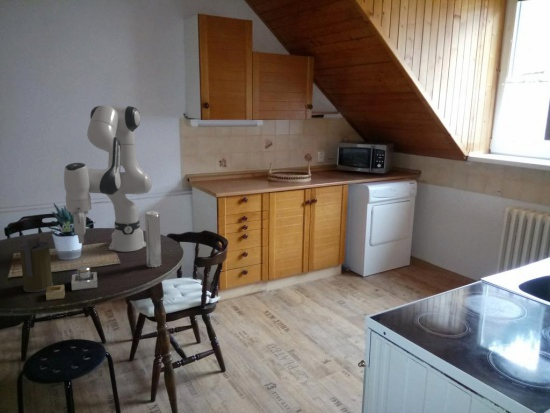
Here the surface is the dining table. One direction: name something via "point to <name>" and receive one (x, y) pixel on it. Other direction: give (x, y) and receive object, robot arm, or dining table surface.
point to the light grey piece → (153, 239)
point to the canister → (35, 265)
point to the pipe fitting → (84, 273)
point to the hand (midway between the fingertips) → (81, 239)
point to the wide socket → (84, 282)
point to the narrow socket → (55, 292)
